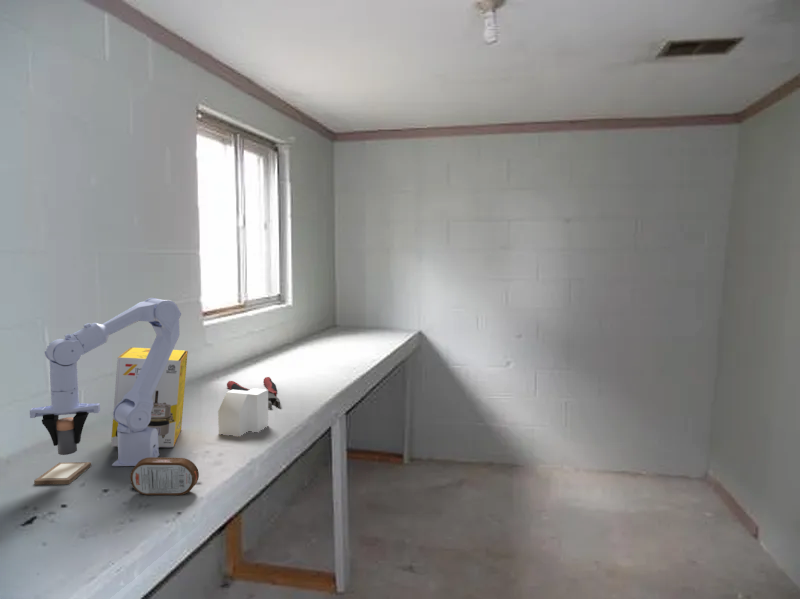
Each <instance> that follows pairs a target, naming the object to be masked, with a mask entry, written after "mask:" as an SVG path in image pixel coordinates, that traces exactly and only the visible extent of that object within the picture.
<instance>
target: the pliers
mask: <svg viewBox="0 0 800 599" xmlns="http://www.w3.org/2000/svg"><path fill="white" fill-rule="evenodd" d="M263 385H264V386H265V388H266V389H267V390H268V410H273V406H274V405H275V406H276V408H277V407H278V408H277V409H281V400H280V398H279V397H278V395H277V394H278V392H277V385H276V383H274V382H273V380H272V378H271V377H270V376H266V377H264V378H263ZM226 387H227V389H229V390H244V391H248V390H250V389H249V388H246V387H244V386H242V385H240V384H239V383H238V382H235V381H233V380H228V382H227V383H226ZM275 406H274V407H275Z"/></svg>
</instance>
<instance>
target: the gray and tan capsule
mask: <svg viewBox="0 0 800 599" xmlns="http://www.w3.org/2000/svg"><path fill="white" fill-rule="evenodd" d="M73 417H74V416H71V417H69V416H68V417H62V418H58V420H57V421H56V426H57V444H58V445H57V455H59V456H65V455H66V456H67V455H72V454H75V453H77V451H78V444H75V426H74V420H73Z"/></svg>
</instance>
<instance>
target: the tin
mask: <svg viewBox="0 0 800 599" xmlns="http://www.w3.org/2000/svg"><path fill="white" fill-rule="evenodd" d="M199 477H200V473H199V470H198V468H197V465H196V463H194V462H193V461H192V460H190V459H188V458H185V457H157V458H156V457H149V458H144V459H142V460H140V461H139V462H138V463H137V464H136V466H133V468H132V469H131V471H130V476H129V480H130V484H131V486H132V488H133V489H134V490H135V491H137V492H138V493H139V494H141V495H145V496H183V495H186V494H187V493H189V492H191V491H192V490H193V488H194V487H195V486H196V485H197V483H198V481H199Z"/></svg>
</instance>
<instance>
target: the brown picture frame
mask: <svg viewBox="0 0 800 599" xmlns="http://www.w3.org/2000/svg"><path fill="white" fill-rule="evenodd" d="M90 466H91V467H92V462H90V461H88V462H87V461H86V462H85V461H84V462H83V461H81V462H79V461H78V462H77V461H76V462H72V461H71V462H58V463H57V464H55V465H54V466H52V467H51V468H50V469H48V470H47V471H45V472H44V473H43V474H41V475H40V476H39V477H37V478H36V479H34V480H33V481H34V482H33V483H34V486H35V485H36V486H37V485H38V486H39V485H40V486H42V485H44V486H45V485H70V484H72V482H74V481H75V480H76V479H78V478H79V477H80V476H79V475H80V474H81V475H82V474H83V473H85V472H86V471H88V469H89V468H91V467H90ZM85 470H86V471H85Z"/></svg>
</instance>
